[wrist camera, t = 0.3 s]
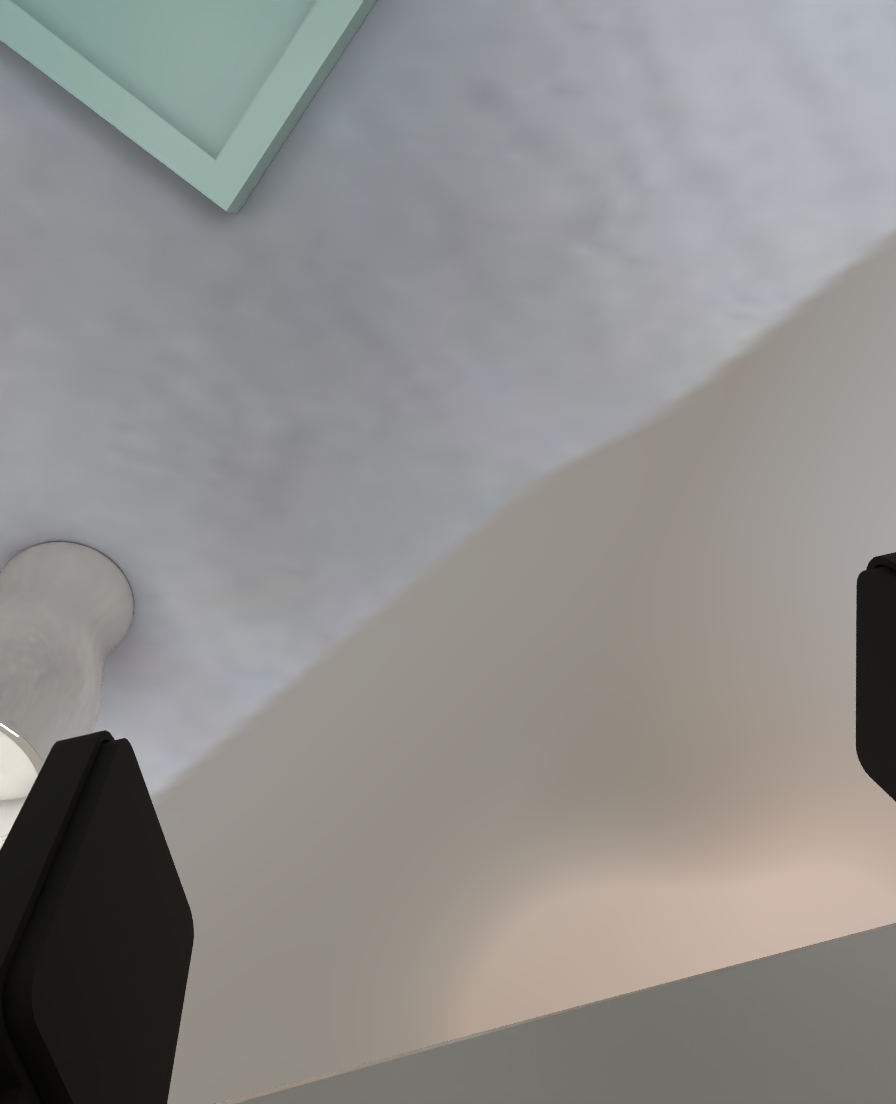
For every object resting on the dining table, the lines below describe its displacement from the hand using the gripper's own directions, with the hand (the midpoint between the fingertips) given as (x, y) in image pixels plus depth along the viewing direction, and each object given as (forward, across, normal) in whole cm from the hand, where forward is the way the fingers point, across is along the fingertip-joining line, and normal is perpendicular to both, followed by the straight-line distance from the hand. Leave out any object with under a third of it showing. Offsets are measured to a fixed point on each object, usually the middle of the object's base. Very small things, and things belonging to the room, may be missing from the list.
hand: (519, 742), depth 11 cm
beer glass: (+30, +16, +7) cm, 35 cm away
